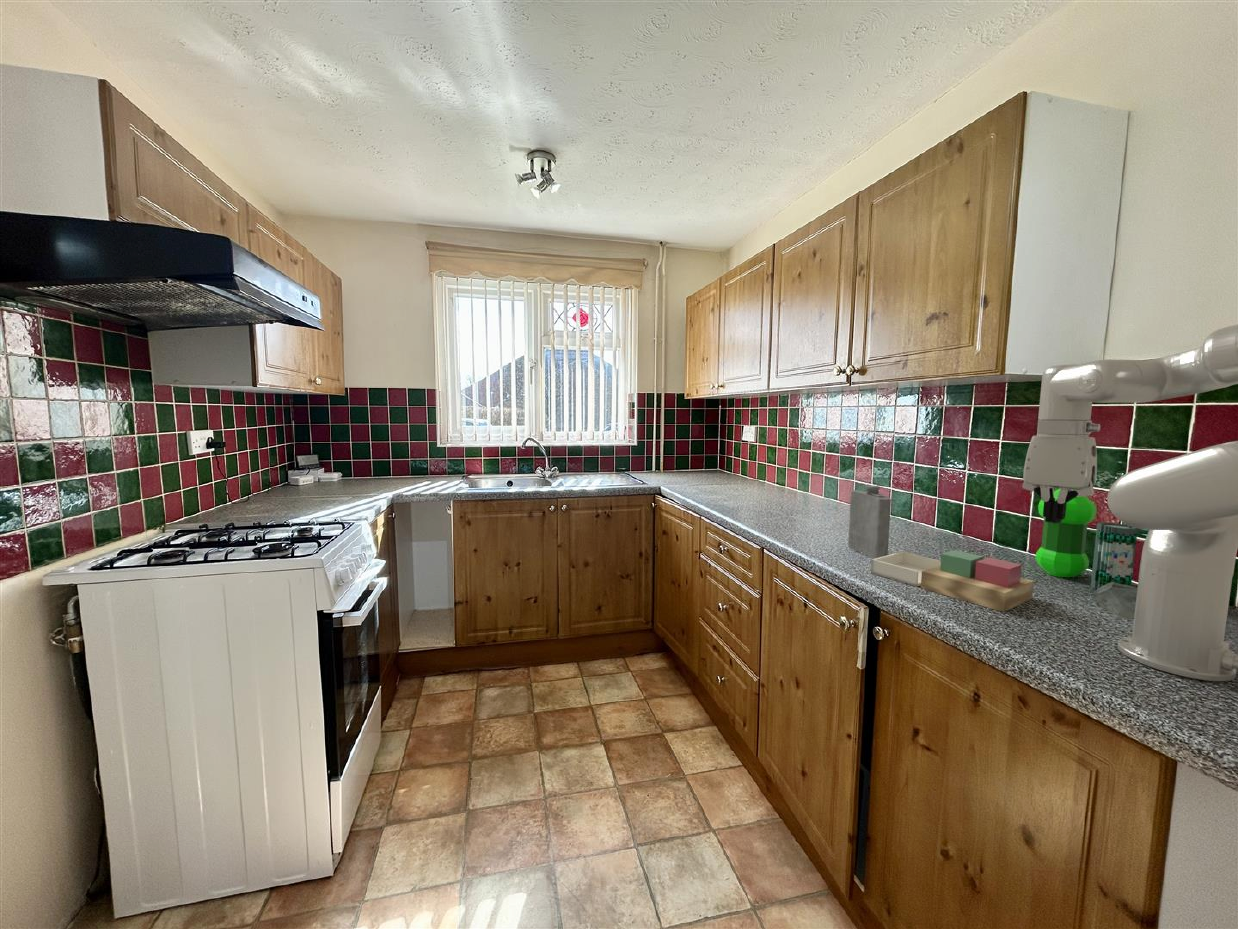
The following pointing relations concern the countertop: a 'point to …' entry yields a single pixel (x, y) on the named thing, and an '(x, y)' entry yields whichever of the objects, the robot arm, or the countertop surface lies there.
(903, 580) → the tray
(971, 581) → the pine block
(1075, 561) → the plastic bottle
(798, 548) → the countertop surface
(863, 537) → the hip flask
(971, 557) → the green block
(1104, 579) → the green printed upright box
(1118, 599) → the stone
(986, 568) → the pink toy cube
